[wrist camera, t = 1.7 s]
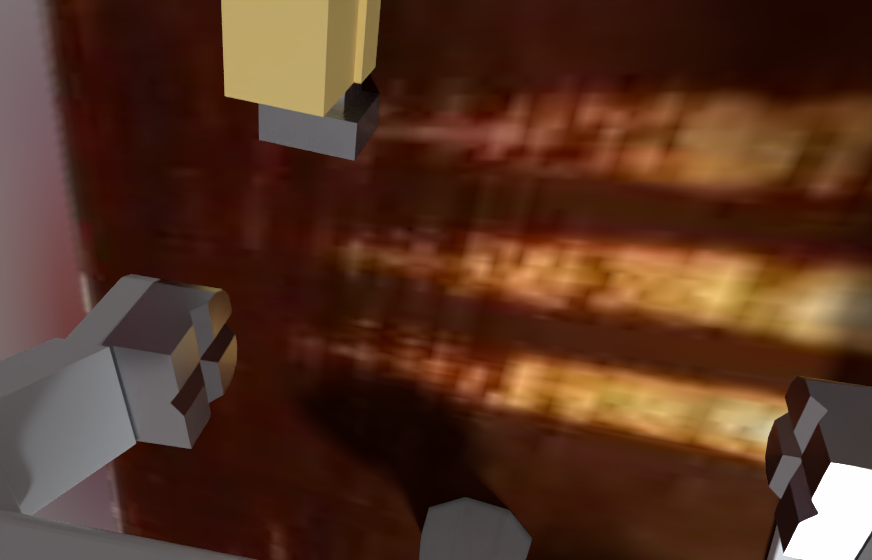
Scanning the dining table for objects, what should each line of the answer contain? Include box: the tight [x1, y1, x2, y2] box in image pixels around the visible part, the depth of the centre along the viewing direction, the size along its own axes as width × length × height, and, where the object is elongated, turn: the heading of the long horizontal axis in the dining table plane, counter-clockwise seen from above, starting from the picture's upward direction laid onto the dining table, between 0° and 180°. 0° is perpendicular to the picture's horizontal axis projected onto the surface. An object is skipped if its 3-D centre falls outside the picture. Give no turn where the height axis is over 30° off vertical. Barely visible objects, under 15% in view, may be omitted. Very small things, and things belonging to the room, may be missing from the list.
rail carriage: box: [221, 0, 381, 117], centre depth 33 cm, size 5×5×7 cm
